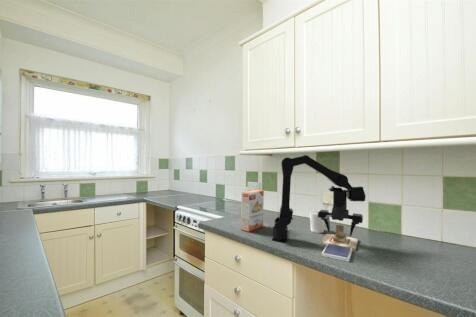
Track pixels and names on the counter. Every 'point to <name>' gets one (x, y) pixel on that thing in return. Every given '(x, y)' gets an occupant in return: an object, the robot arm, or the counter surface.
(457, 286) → the counter surface
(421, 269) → the counter surface
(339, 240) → the stamp
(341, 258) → the ink pad
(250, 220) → the cracker box
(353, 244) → the board
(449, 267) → the counter surface
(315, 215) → the white cup
